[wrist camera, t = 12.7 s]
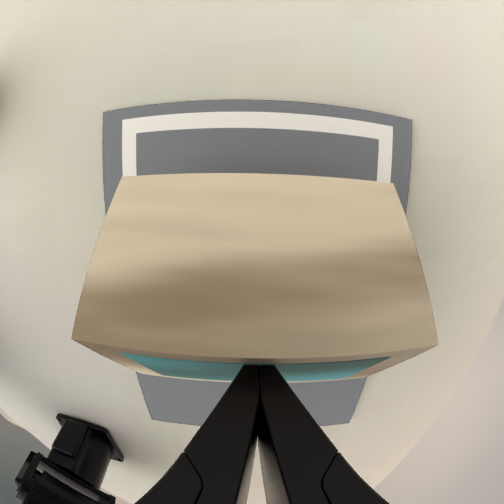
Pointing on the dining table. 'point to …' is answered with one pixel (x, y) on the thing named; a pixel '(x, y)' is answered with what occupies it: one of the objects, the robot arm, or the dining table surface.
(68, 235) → the dining table surface
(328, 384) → the mat
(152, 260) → the block
